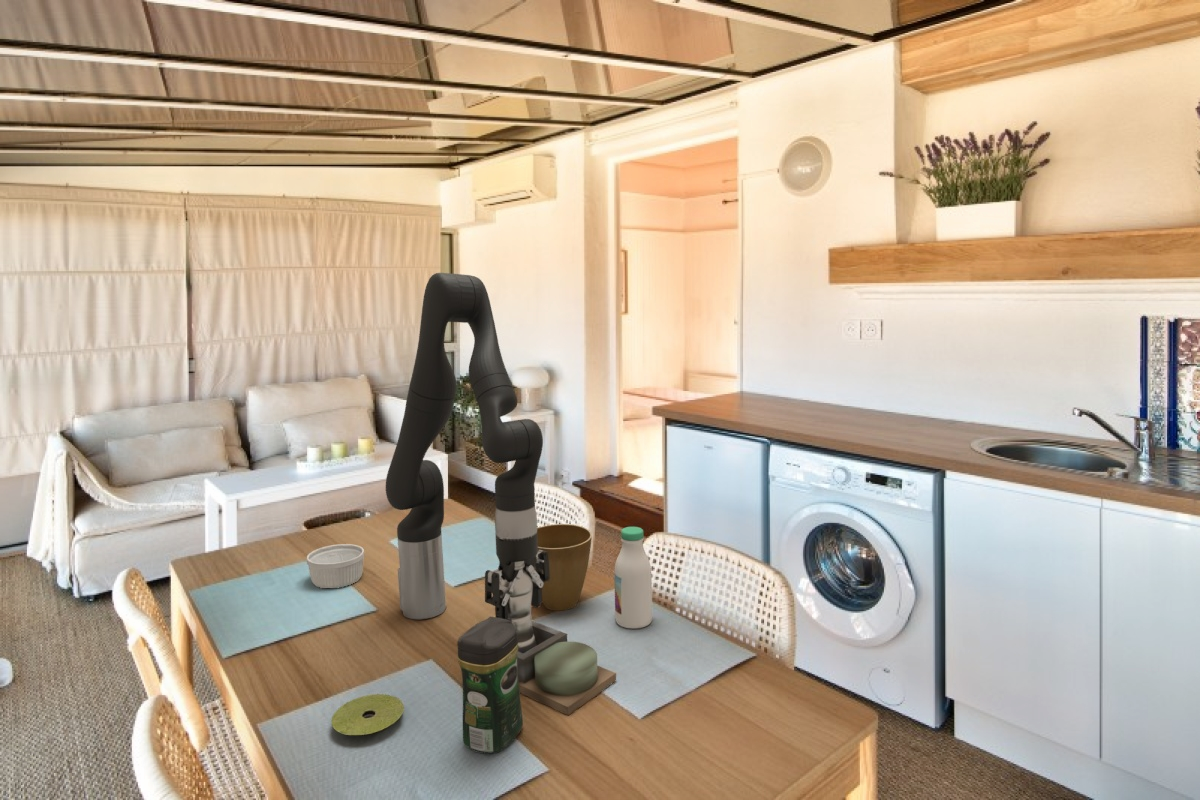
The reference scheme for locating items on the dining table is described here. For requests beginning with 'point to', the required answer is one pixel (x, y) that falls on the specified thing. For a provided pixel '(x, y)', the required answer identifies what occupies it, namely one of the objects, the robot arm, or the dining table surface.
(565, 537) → the plant pot
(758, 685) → the dining table surface
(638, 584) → the milk bottle
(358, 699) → the green sanding disc
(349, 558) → the ramekin
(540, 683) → the stand
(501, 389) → the robot arm
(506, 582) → the plastic bottle
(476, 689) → the coffee jar
